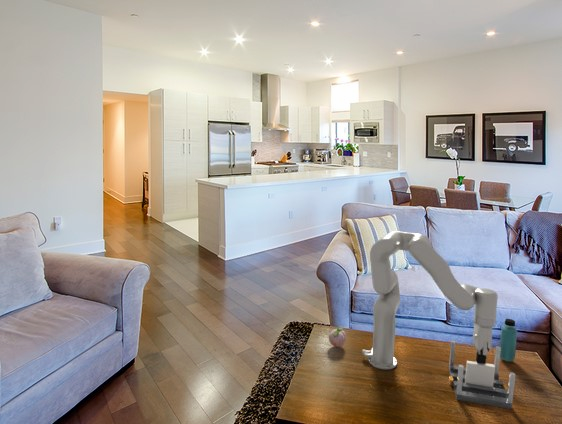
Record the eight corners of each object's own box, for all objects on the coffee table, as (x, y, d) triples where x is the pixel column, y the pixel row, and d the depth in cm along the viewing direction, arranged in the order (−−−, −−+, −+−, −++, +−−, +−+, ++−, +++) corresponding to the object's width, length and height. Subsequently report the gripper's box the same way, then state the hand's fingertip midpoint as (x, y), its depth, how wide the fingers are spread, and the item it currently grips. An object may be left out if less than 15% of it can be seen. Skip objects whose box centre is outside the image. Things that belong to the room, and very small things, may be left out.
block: (465, 385, 152) (467, 363, 150) (464, 382, 154) (466, 360, 152) (492, 389, 149) (495, 367, 148) (491, 386, 151) (493, 364, 150)
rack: (453, 398, 145) (456, 366, 143) (445, 369, 165) (448, 339, 163) (515, 409, 139) (519, 375, 137) (499, 377, 159) (503, 347, 157)
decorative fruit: (331, 341, 189) (331, 322, 187) (347, 344, 186) (347, 325, 184) (326, 350, 180) (326, 330, 179) (342, 353, 177) (343, 334, 176)
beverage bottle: (516, 365, 168) (521, 324, 165) (500, 363, 169) (505, 322, 166) (511, 357, 174) (515, 317, 171) (495, 355, 176) (499, 316, 172)
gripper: (470, 311, 155) (467, 351, 158) (478, 327, 141) (474, 371, 144) (490, 313, 153) (486, 354, 156) (500, 329, 139) (495, 374, 142)
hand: (480, 362), depth 150 cm, fingers closed
